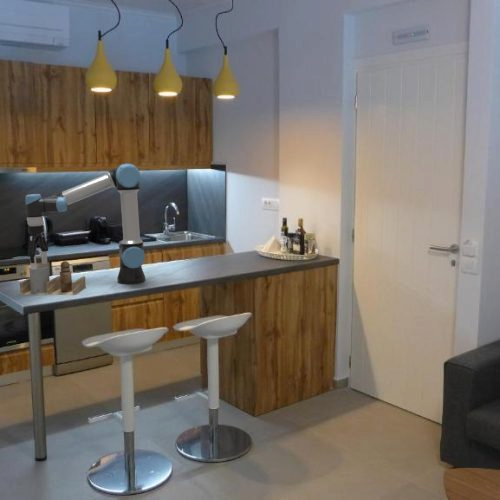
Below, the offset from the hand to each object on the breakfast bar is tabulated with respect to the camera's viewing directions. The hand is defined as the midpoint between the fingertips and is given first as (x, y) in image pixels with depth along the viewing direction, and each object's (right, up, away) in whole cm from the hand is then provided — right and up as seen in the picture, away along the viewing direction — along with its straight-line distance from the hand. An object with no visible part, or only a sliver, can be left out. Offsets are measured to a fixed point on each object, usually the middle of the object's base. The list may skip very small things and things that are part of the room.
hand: (39, 266), depth 314 cm
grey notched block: (0, -13, +2) cm, 13 cm away
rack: (+6, -13, +3) cm, 15 cm away
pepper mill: (+13, -12, +2) cm, 18 cm away
